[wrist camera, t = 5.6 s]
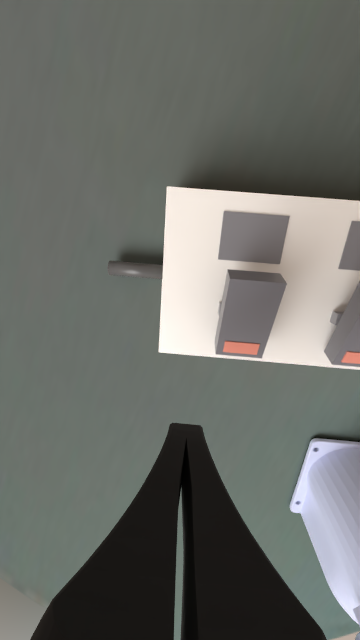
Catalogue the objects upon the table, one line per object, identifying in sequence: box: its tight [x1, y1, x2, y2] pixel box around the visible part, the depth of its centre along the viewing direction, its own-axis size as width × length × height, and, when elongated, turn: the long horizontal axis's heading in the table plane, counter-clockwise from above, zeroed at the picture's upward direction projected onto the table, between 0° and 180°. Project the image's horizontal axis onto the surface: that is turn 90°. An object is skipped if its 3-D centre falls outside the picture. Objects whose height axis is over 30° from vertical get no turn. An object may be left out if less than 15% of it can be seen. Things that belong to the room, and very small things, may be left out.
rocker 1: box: [215, 269, 287, 358], centre depth 14 cm, size 5×3×1 cm, turn 175°
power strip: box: [108, 187, 360, 370], centre depth 16 cm, size 10×28×4 cm, turn 86°
